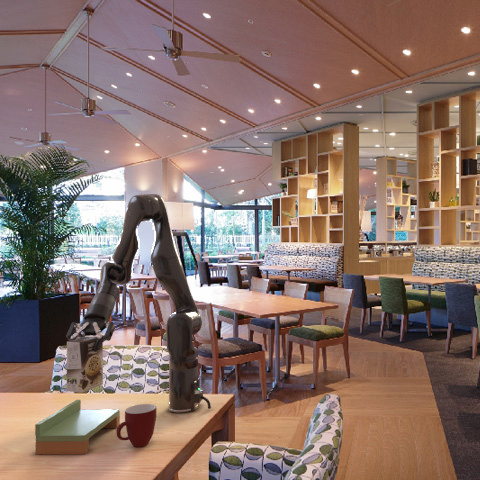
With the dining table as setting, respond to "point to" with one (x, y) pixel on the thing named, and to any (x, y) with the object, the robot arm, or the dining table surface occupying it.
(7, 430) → the dining table surface
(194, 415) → the dining table surface
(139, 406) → the mug
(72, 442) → the shelf
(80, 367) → the coffee box
